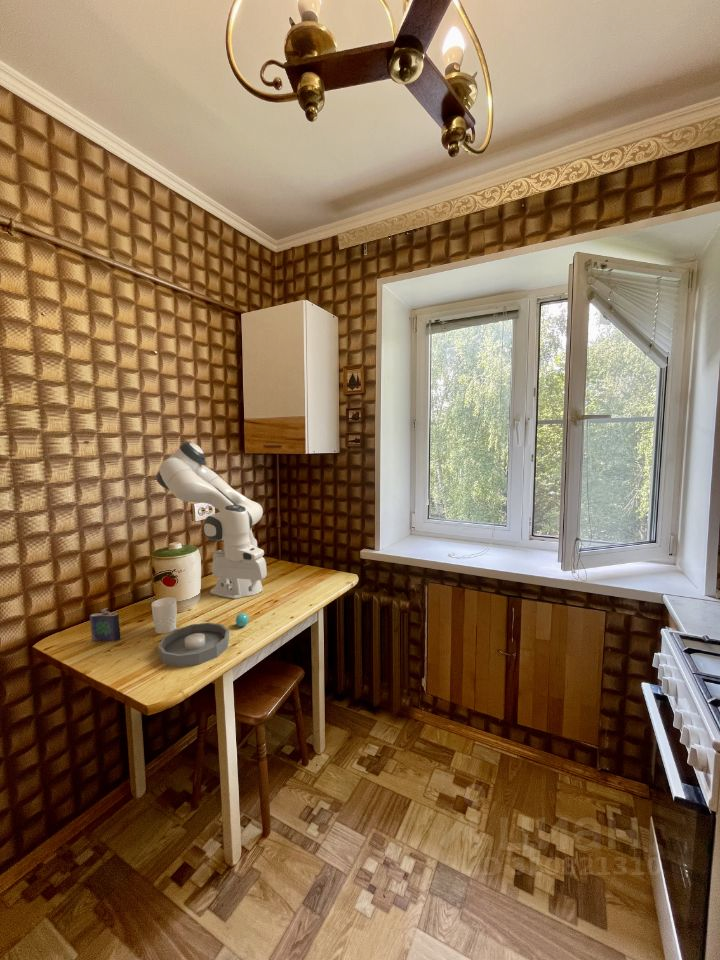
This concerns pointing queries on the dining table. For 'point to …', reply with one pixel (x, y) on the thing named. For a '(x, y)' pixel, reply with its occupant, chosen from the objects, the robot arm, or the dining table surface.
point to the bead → (242, 619)
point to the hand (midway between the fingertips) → (240, 589)
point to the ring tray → (193, 644)
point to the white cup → (164, 615)
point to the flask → (105, 626)
